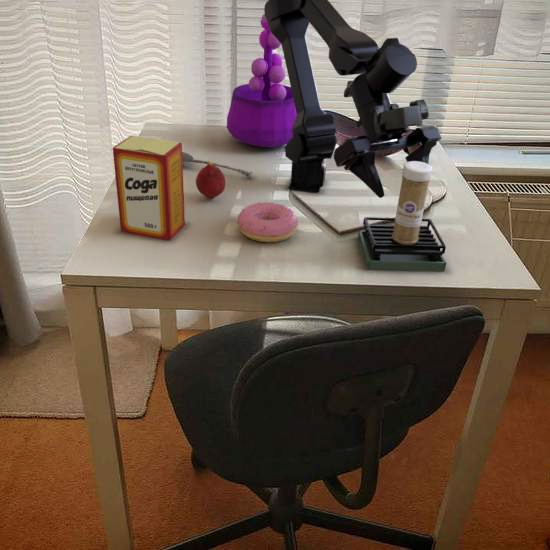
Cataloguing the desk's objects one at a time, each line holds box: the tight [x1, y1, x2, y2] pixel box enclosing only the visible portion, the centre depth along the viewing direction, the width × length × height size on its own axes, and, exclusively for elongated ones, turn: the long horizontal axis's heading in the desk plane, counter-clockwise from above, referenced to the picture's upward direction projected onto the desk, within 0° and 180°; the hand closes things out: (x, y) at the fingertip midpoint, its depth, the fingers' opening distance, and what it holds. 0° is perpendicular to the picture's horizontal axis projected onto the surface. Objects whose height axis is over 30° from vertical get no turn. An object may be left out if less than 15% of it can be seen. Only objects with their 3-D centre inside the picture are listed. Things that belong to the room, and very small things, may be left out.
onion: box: [195, 160, 227, 201], centre depth 119 cm, size 6×6×8 cm
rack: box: [362, 216, 447, 262], centre depth 105 cm, size 12×10×4 cm
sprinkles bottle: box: [392, 161, 433, 245], centre depth 100 cm, size 5×5×13 cm
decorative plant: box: [226, 13, 297, 148], centre depth 143 cm, size 19×19×30 cm
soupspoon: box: [182, 151, 253, 180], centre depth 134 cm, size 22×3×7 cm
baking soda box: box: [112, 135, 186, 241], centre depth 106 cm, size 10×6×16 cm
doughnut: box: [236, 201, 299, 243], centre depth 110 cm, size 11×11×4 cm
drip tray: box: [357, 229, 447, 272], centre depth 106 cm, size 13×11×2 cm
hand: (404, 192), depth 101 cm, fingers open, 9 cm apart
